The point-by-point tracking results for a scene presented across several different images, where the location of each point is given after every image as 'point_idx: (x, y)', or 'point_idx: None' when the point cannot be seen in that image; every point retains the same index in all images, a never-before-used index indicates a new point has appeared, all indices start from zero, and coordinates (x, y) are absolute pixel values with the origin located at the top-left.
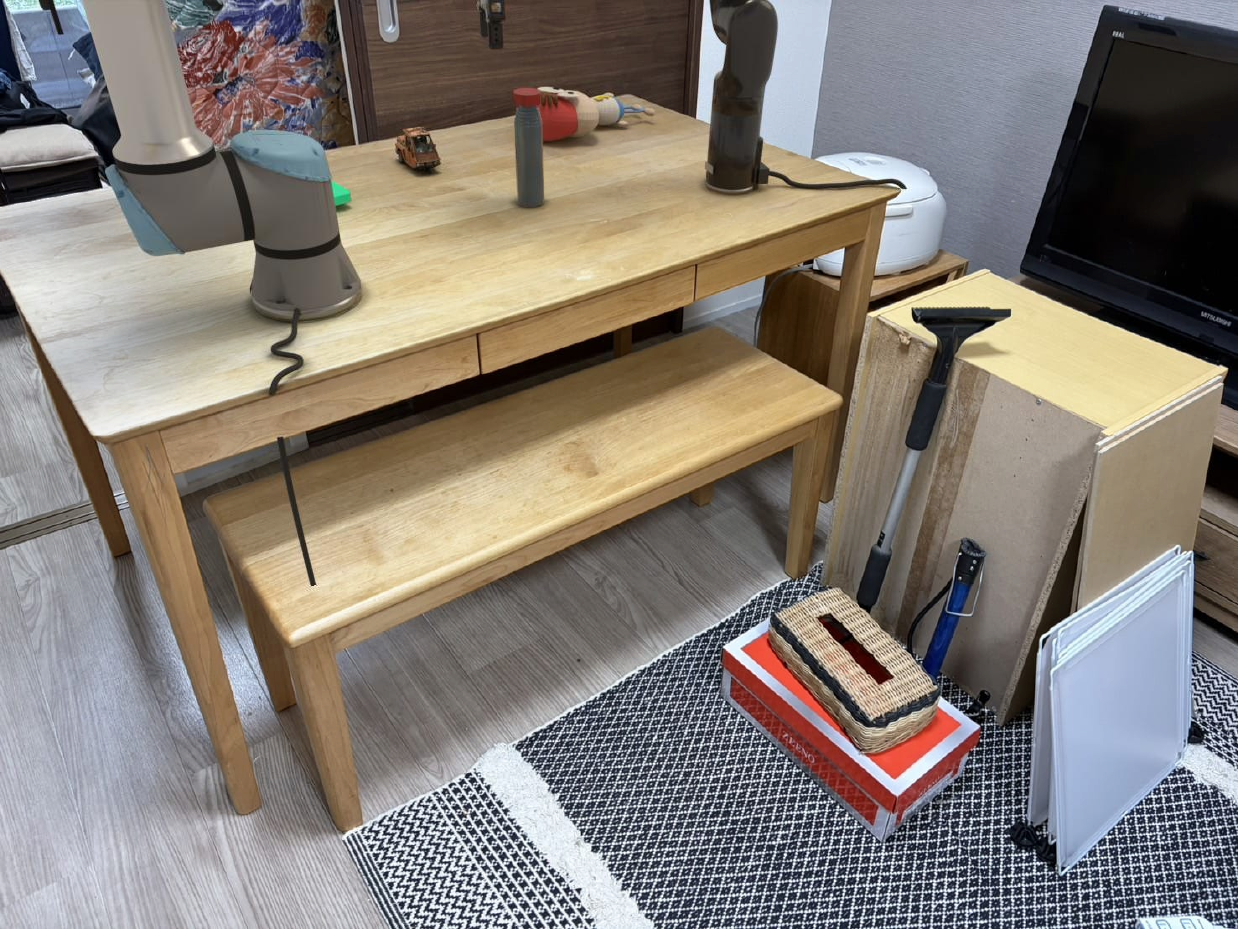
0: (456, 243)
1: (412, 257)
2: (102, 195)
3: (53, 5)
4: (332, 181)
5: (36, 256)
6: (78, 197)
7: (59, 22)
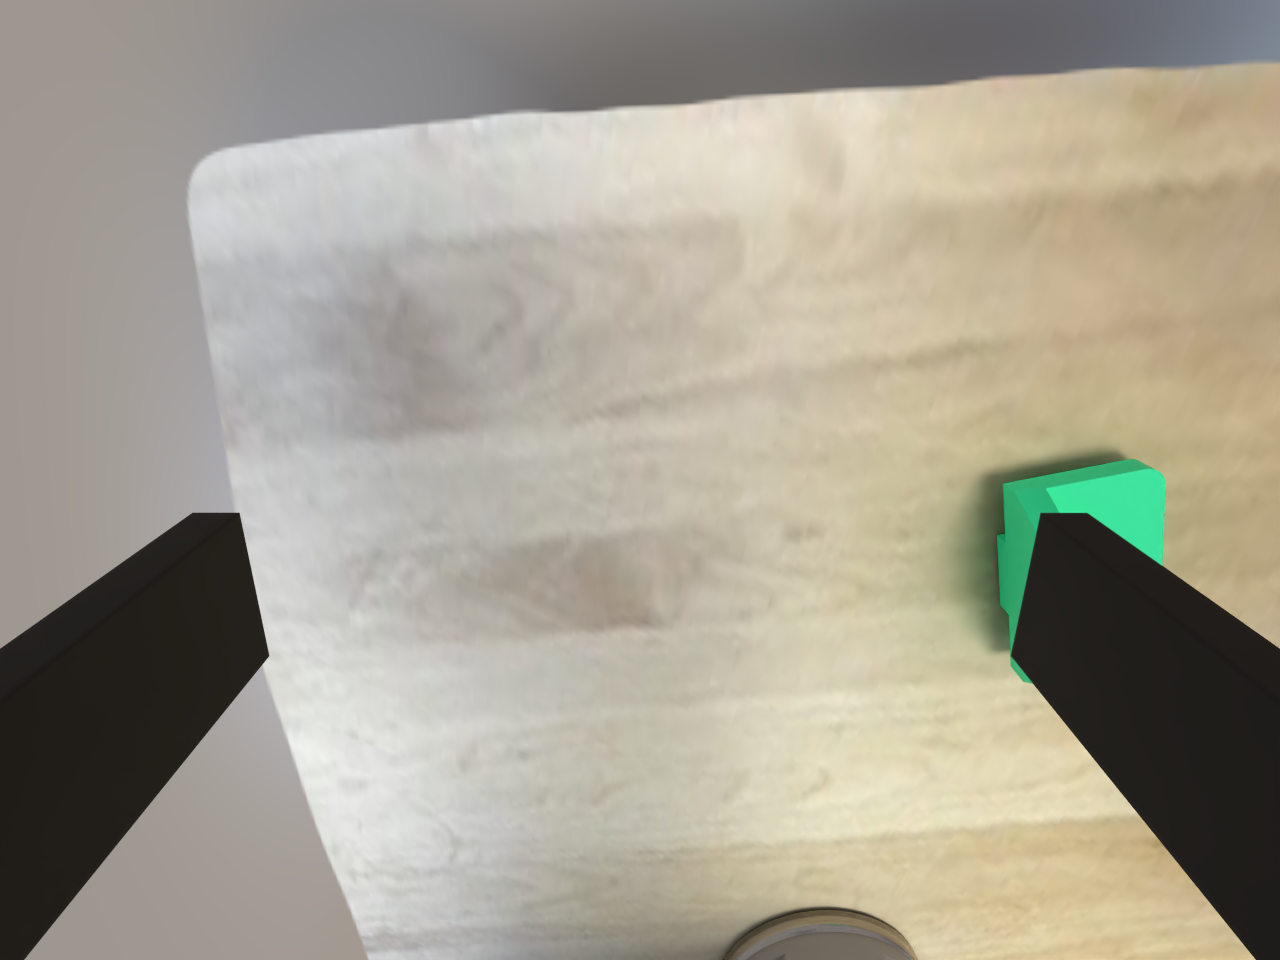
0: (1197, 896)
1: (1076, 915)
2: (474, 177)
3: (100, 852)
4: (1161, 551)
5: (305, 591)
6: (395, 159)
7: (212, 721)
